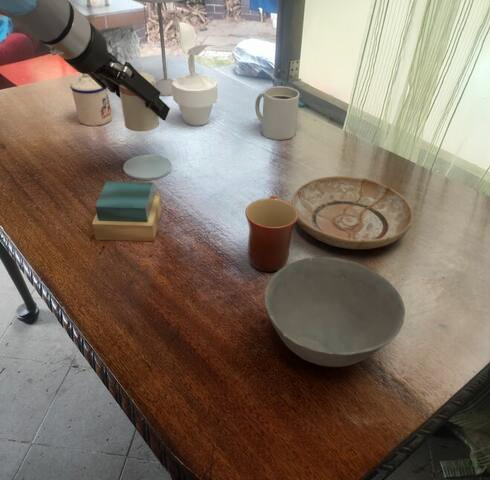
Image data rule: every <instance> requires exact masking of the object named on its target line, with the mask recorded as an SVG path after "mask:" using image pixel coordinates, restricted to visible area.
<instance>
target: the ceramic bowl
mask: <svg viewBox="0 0 490 480" xmlns="http://www.w3.org/2000/svg"><path fill="white" fill-rule="evenodd" d="M290 204H291V205H293V206H294V207H295V208H296V209H297V211H298V219H297V221H296V223H297V224H298V226H299V227H300V228H301V229H302V230H303V231H304V232H305V233H307V234H308V235H309V236H311V237H312V238H314V239H316V240H318V241H320V242H322V243H324V244H327V245H330V246H332V247H333V246H334V247H337V248H340V249H341V248H342V249H349V250H371V249H376V248H380V247H381V248H382V247H384V246H388V245H390V244H392V243H394V242H396V241H398V240H399V239H400V238H402V237H403V236H404V235H405V234H407V232H408V231H409V230H410V228H411V227H412V225H413V224H412V223H413V221H414V212H413V208H412V206H411V204H410V203H409V201H408V200H407V199H406V198H405V197H404V196H403V195H402V194H401V193H399V192H398V191H396V190H395V189H393V188H392V187H390V186H388V185H385V184H383V183H380V182H377V181H375V180H371V179H367V178H362V177H356V176H344V175H343V176H341V175H338V176H335V175H333V176H326V177H320V178H316V179H313V180H310V181H308V182H306V183H304V184H303V185H301V186H300V187H299V188H297V189H296V191H295V192H294V193H293V195H292V198H291V202H290Z"/></svg>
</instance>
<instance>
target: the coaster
mask: <svg viewBox="0 0 490 480" xmlns="http://www.w3.org/2000/svg"><path fill="white" fill-rule="evenodd" d="M122 168H123V172H124V174H125V175H126V176H127V177H129V178H131V179H135V180H137V181H152V180H153V181H154V180H158V179H161V178H164V177H166V176H167V175H169V174H170V173H171V172H172V171H173V170H172V169H173V164H172V162H171V160H170V159H169V158H167V157H165V156H163V155H159V154H141V155H136V156H133V157H130V158H129V159H127V160H126V161H125V162H124V164H123V166H122Z"/></svg>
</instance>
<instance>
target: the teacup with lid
mask: <svg viewBox="0 0 490 480" xmlns="http://www.w3.org/2000/svg"><path fill="white" fill-rule="evenodd" d="M69 88H70V89H71V92H72V96H73V100H74V104H75V110H76V114H77V118H78V121H79V122H80V124H82V125H85V126H89V127H91V126H93V127H95V126H97V127H98V126H103V125H106V124H108V123H110V122H111V121H112V119H113V114H112V109H111V108H112V107H111V103H110V97H109V92H108V91H109V90H108V88H106V89H103V88H102V87H101V86H100V85H99V84H97V83H96V82H95V81H94V80H93V79H92V78H91V77H90V76H89V75H88V74H82V73H81V75H80V76H78V77H77V78H75V79H73V80H72V81H71V82H70V85H69Z"/></svg>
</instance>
